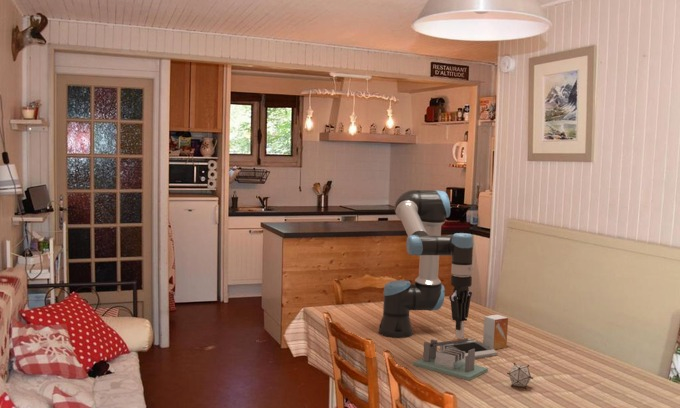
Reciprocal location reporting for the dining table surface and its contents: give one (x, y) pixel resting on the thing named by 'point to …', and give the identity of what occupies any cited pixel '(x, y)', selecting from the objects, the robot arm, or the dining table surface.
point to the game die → (520, 375)
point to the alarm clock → (480, 348)
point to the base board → (463, 372)
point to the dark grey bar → (449, 342)
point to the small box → (495, 331)
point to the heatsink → (450, 358)
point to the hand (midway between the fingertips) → (459, 337)
